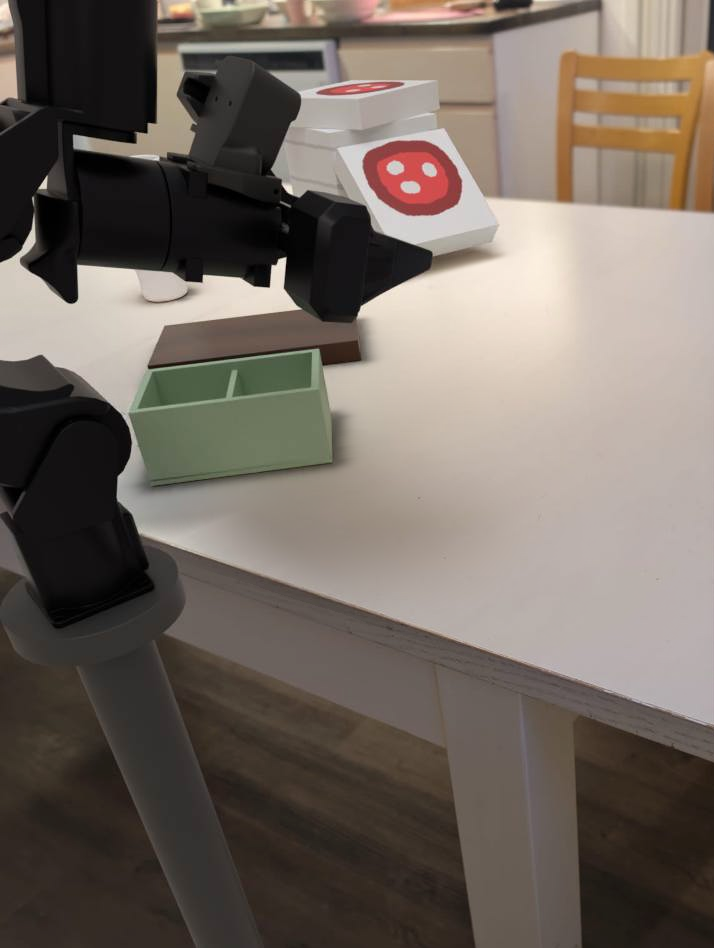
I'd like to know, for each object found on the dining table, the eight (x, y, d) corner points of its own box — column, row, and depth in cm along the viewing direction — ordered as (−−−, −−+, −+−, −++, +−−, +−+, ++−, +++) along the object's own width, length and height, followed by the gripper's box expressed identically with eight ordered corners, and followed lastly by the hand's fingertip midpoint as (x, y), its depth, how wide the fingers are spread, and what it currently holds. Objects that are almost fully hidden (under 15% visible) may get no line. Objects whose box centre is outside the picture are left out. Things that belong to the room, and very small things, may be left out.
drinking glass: (171, 285, 117) (135, 153, 109) (206, 291, 114) (172, 155, 105) (126, 301, 113) (86, 165, 104) (162, 308, 110) (123, 167, 101)
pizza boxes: (383, 287, 110) (360, 113, 99) (283, 242, 131) (254, 94, 120) (517, 252, 117) (509, 87, 107) (402, 215, 138) (385, 74, 127)
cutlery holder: (332, 462, 73) (318, 389, 69) (151, 486, 72) (127, 412, 68) (331, 417, 80) (319, 348, 76) (166, 438, 79) (146, 369, 76)
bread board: (361, 360, 91) (358, 339, 89) (153, 386, 89) (146, 365, 88) (357, 321, 100) (354, 302, 99) (169, 344, 99) (164, 325, 98)
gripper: (227, 68, 42) (500, 126, 51) (104, 36, 55) (342, 87, 64) (213, 318, 48) (463, 331, 57) (105, 238, 60) (324, 259, 69)
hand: (393, 243), depth 61 cm, fingers open, 9 cm apart
